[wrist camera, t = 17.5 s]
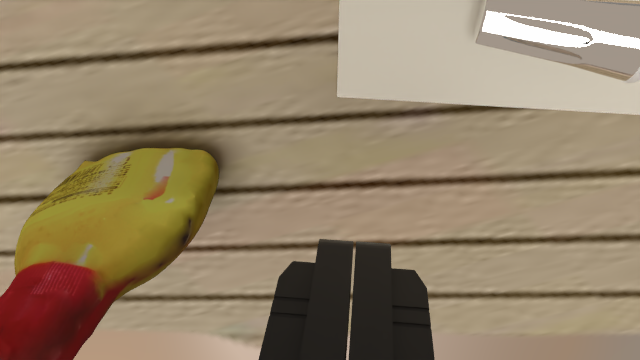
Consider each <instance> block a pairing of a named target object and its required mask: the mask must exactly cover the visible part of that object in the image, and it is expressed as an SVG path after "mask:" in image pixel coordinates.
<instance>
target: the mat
mask: <svg viewBox="0 0 640 360" xmlns="http://www.w3.org/2000/svg"><path fill="white" fill-rule="evenodd" d="M480 2H481V0H339V37H338V78H337V97H345V98H362V99H379V100H396V101H413V102H430V103H447V104H464V105H481V106H498V107H515V108H532V109H550V110H567V111H584V112H601V113H618V114H635V115H640V80H639V81H637V82H634V83H624V82H622V81H618V80H614V79H610V78H607V77H603V76H599V75H595V74H592V73H588V72H584V71H581V70H577V69H574V68H571V67H567V66H564V65H560V64H556V63H552V62H548V61H544V60H540V59H535V58H531V57H527V56H523V55H518V54H514V53H510V52H506V51H501V50H497V49H493V48H489V47H484V46H480V45H476V44H473V36H474V29H475V24H476V18H477V14H478V10H479V6H480Z"/></svg>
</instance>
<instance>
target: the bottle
mask: <svg viewBox="0 0 640 360" xmlns="http://www.w3.org/2000/svg"><path fill="white" fill-rule="evenodd" d="M218 179H219V169H218V165H217V162H216V161H215V159H214V158H213V157H212V156H211V155H210V154H209V153H207V152H206V151H204V150H189V149H184V148H170V149H164V148H142V149H137V150H134V151H128V152H119V153H114V154H111V155H108V156H106V157H104V158H103V159H101V160H99V161H95V162H92V161H84V162H83V163H82V164H81V165H80V167H79V168H78V169H77V170H76V171H75V172H74V173H73V174H72V175H70V176H69V177H68V178H67V179H65V180H64V181H63V182H62V183H61V184H60V185H59V186H58V187H56V188H55V189H54V190H53V191H52V192H51V193H50V195H49V196H48V197H47V198H46V199H45V200H44V201H43V202H42V203H41V204H40V205H39V206H38V207H37V209H36V210H35V211H34V212H33V213H32V214H31V216H30V217H29V218H28V220H27V221H26V223H25V224H24V226H23V228H22V230H21V233H20V236H19V239H18V243H17V247H16V253H15V274H16V277H15V279H14V280H13V282H12V283H11V285H10V286H9V288H8V289H7V290H6V292H5V293H4V294H3V295H2V296H1V297H0V360H73V359H74V357H75V356H76V354H77V353H78V351H79V350H80V348H81V347H82V345H83V344H84V343H85V341H86V340H87V339H88V338H89V337H90V336H91V335H92V334H93V332H94V330H95V328H96V327H97V325H98V323H99V322H100V321H101V319H102V318H103V316H104V315H105V314H106V312H107V310H108V309H109V308H110V306H111V305H112V303H113V302H114V301H116V300H117V299H118V298H120V297H121V296H122V295H124V294H125V293H127V292H129V291H130V290H132V289H134V288H136V287H138V286H140V285H142V284H144V283H145V282H147V281H149V280H151V279H152V278H154V277H155V276H157V275H158V274H159V273H160V272H162V271H163V270H164V269H165V268H166V267H167V266H168V265H170V264H171V263H172V262H173V261H174V260H175V259H176V258H177V257H178V256H179V255H180V254H181V252H182V251H183V250H184V249H185V248H186V247H187V246H188V244H189V243H190V242H191V241H192V239H193V238H194V236H195V235H196V234H197V232H198V230H199V229H200V227H201V225H202V223H203V221H204V219H205V217H206V214H207V212H208V209H209V206H210V203H211V201H212V199H213V196H214V194H215V191H216V188H217V184H218Z"/></svg>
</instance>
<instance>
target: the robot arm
mask: <svg viewBox="0 0 640 360" xmlns="http://www.w3.org/2000/svg"><path fill="white" fill-rule="evenodd" d="M352 257H353V241H340V240H326V239H320V240H319V244H318V250H317V256H316V262H315V263H310V262H296V261H293V262H292V263H291V264H290V265H289V266H288V267H287V269H286V270H285V271H284V272H283V273H282V274H281V275H280V276H279V279H278V283H277V287H276V291H275V295H274V300H273V303H272V307H271V312H270V316H269V320H268V324H267V328H266V332H265V336H264V340H263V344H262V348H261V352H260V356H259V360H346V351H347V337H348V323H349V308H350V291H351V274H352ZM349 360H434V351H433V341H432V332H431V323H430V313H429V304H428V295H427V288H426V286H425V285H424V283H423V282H422V280H421V279H420V277H419V276H418V274H417V273H416V271H415V270H406V269H392V268H391V245H390V244H384V243H370V242H356V255H355V271H354V286H353V302H352V317H351V332H350V349H349Z"/></svg>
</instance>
